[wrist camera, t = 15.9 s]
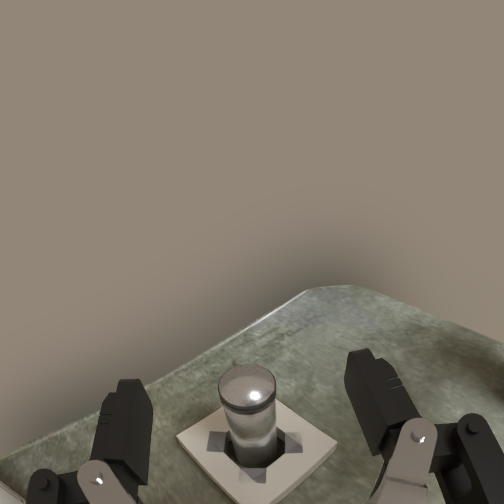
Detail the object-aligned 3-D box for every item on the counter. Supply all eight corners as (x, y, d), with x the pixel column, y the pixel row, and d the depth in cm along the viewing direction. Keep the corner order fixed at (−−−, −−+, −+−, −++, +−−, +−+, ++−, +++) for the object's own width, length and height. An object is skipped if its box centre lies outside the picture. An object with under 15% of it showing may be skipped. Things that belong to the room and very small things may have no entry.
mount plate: (257, 394, 42) (256, 383, 41) (334, 451, 32) (337, 442, 31) (180, 445, 34) (176, 435, 33) (254, 520, 25) (252, 515, 24)
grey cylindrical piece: (258, 429, 36) (249, 355, 30) (287, 452, 33) (288, 383, 27) (226, 451, 33) (206, 383, 27) (254, 477, 30) (243, 416, 24)
